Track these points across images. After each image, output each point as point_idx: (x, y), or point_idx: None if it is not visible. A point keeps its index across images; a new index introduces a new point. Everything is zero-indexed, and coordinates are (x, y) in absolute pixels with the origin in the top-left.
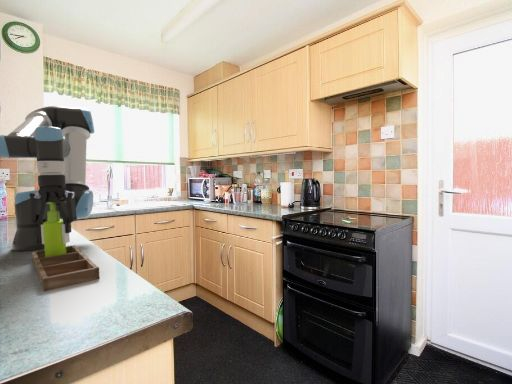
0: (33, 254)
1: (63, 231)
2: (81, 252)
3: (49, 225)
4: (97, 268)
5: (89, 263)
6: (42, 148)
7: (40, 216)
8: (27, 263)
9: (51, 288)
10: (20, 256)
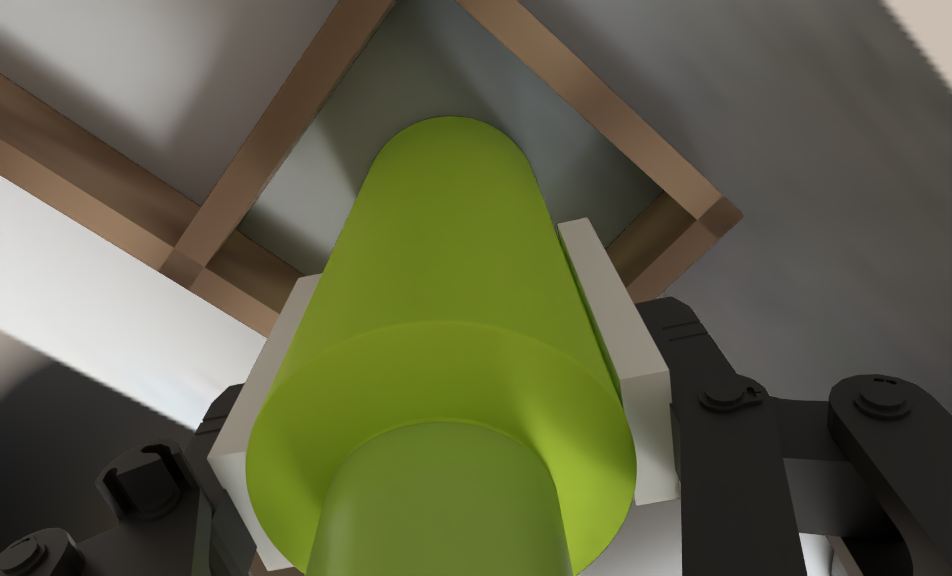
0: (633, 118)
1: (265, 370)
2: (131, 248)
3: (370, 311)
4: None
5: None
6: None
7: (744, 522)
8: (683, 93)
9: None
10: (931, 286)
